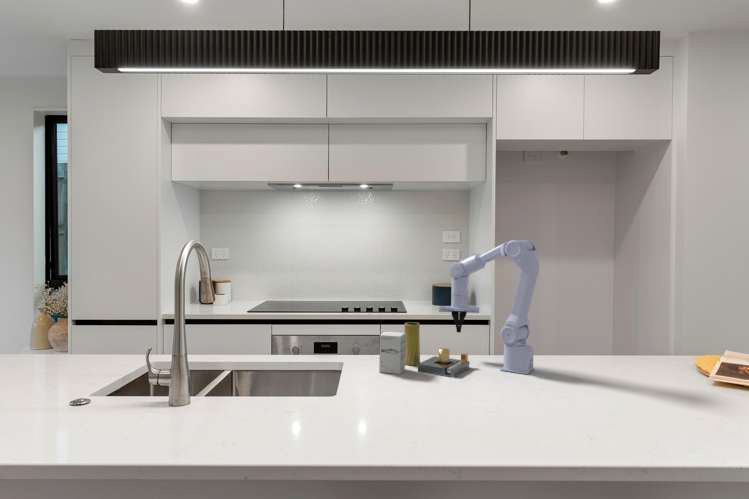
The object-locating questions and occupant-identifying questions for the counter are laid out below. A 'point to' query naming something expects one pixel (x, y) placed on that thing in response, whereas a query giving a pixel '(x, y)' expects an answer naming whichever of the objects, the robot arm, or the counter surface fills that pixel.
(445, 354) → the gold cylinder
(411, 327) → the vase
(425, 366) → the socket
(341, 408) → the counter surface
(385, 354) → the supplement box
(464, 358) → the lock pin
